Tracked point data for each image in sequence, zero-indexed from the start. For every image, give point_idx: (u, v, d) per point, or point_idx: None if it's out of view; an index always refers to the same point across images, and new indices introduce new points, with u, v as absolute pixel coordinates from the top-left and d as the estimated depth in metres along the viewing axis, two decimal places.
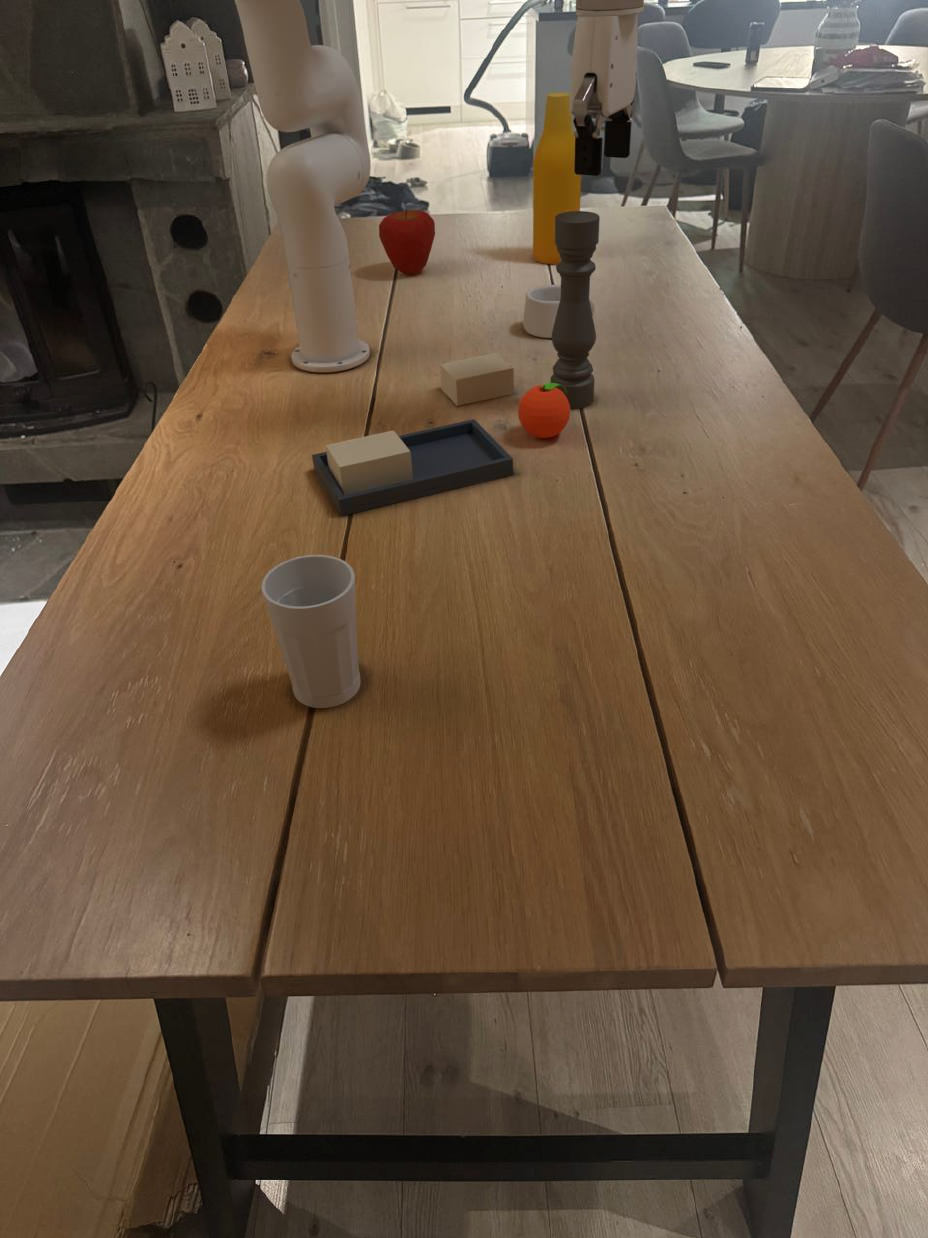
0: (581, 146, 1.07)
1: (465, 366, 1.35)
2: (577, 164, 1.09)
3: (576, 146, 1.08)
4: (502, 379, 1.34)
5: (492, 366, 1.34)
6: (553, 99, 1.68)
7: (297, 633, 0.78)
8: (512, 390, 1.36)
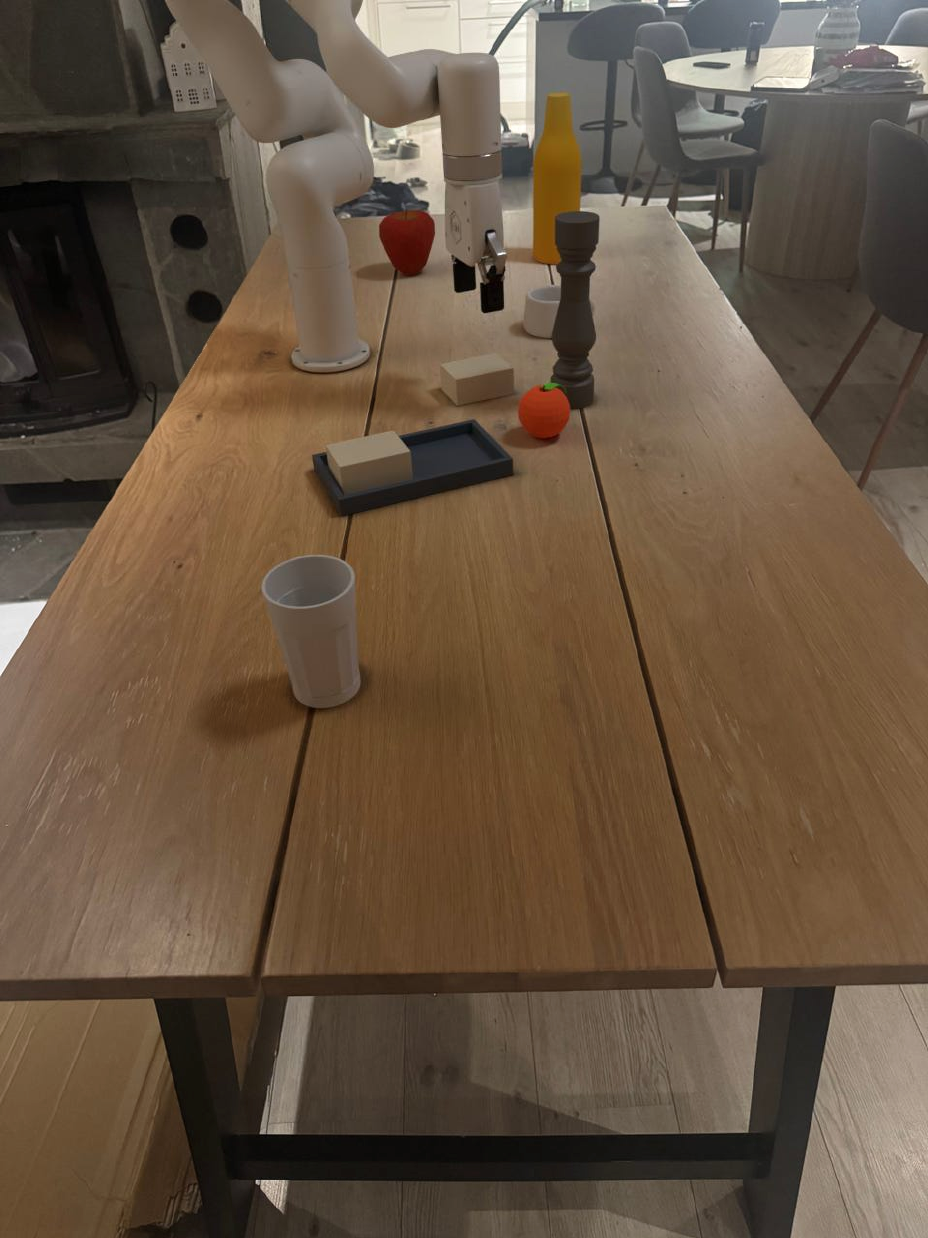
0: (491, 290, 1.22)
1: (465, 366, 1.35)
2: (484, 305, 1.24)
3: (483, 291, 1.23)
4: (502, 379, 1.34)
5: (492, 366, 1.34)
6: (553, 99, 1.68)
7: (297, 633, 0.78)
8: (512, 390, 1.36)
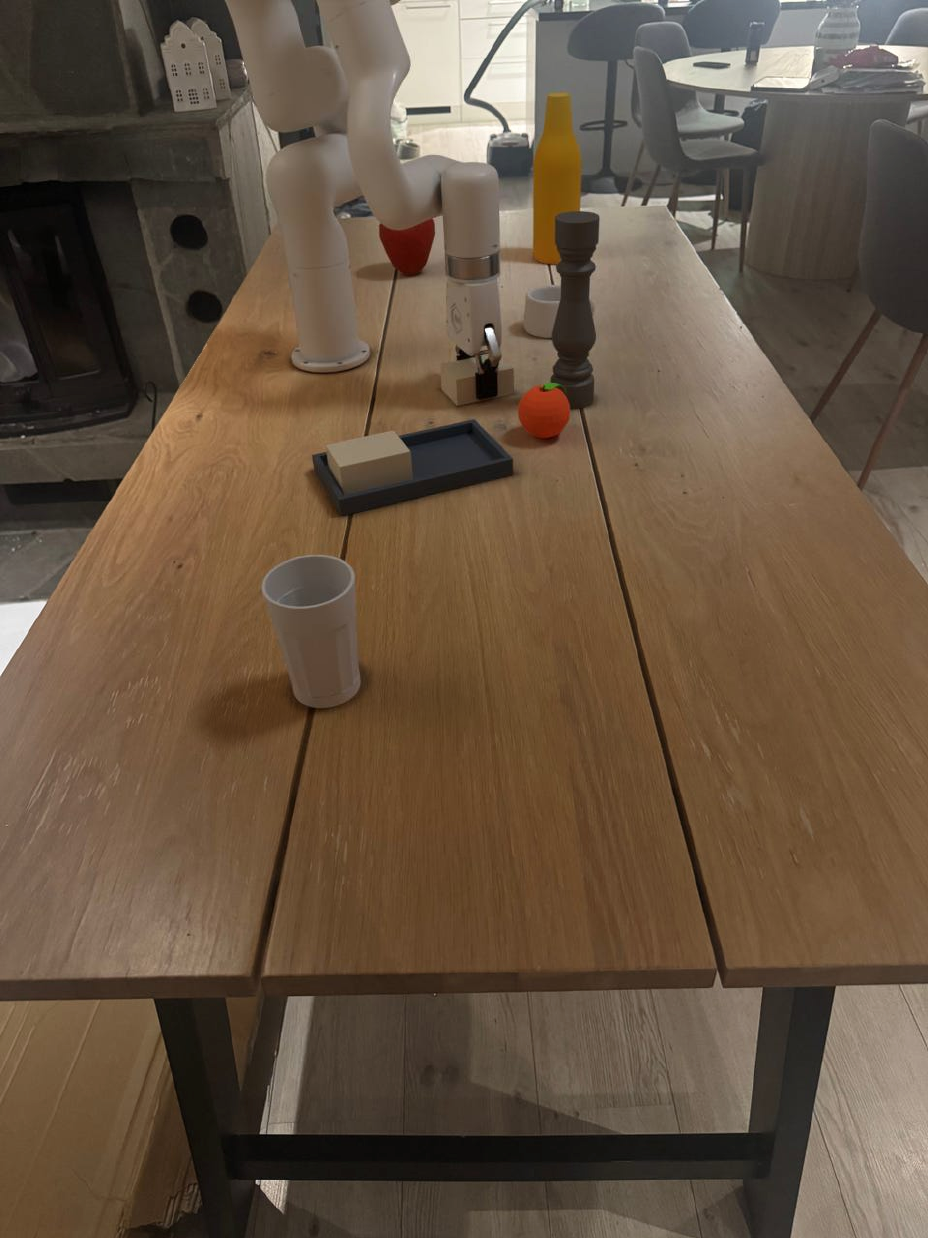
0: (485, 379, 1.31)
1: (465, 366, 1.35)
2: (479, 392, 1.33)
3: (478, 380, 1.32)
4: (502, 379, 1.34)
5: None
6: (553, 99, 1.68)
7: (297, 633, 0.78)
8: (512, 390, 1.36)
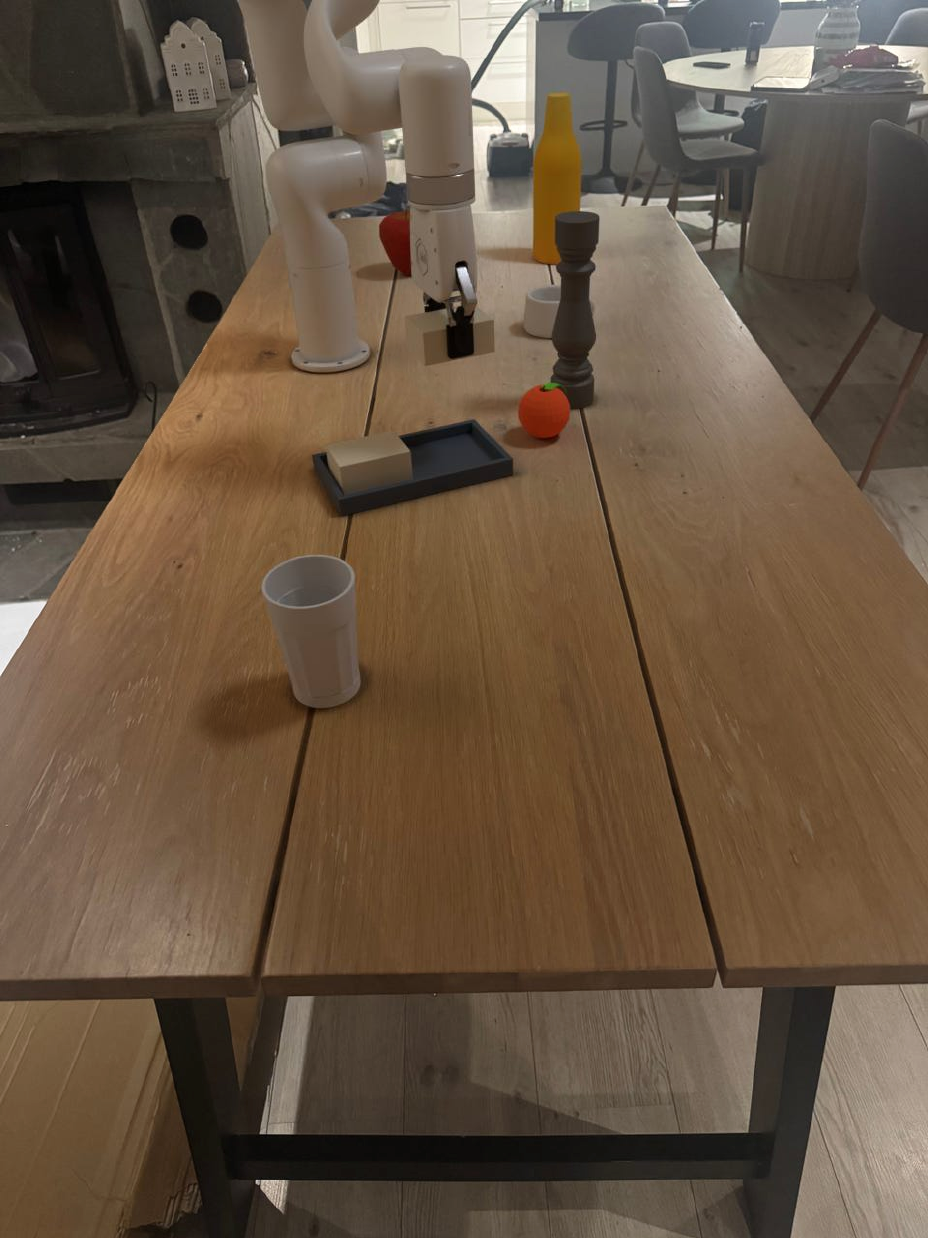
0: (458, 333, 1.07)
1: (435, 318, 1.10)
2: (451, 350, 1.09)
3: (449, 334, 1.07)
4: (480, 333, 1.10)
5: None
6: (553, 99, 1.68)
7: (297, 633, 0.78)
8: (492, 347, 1.11)
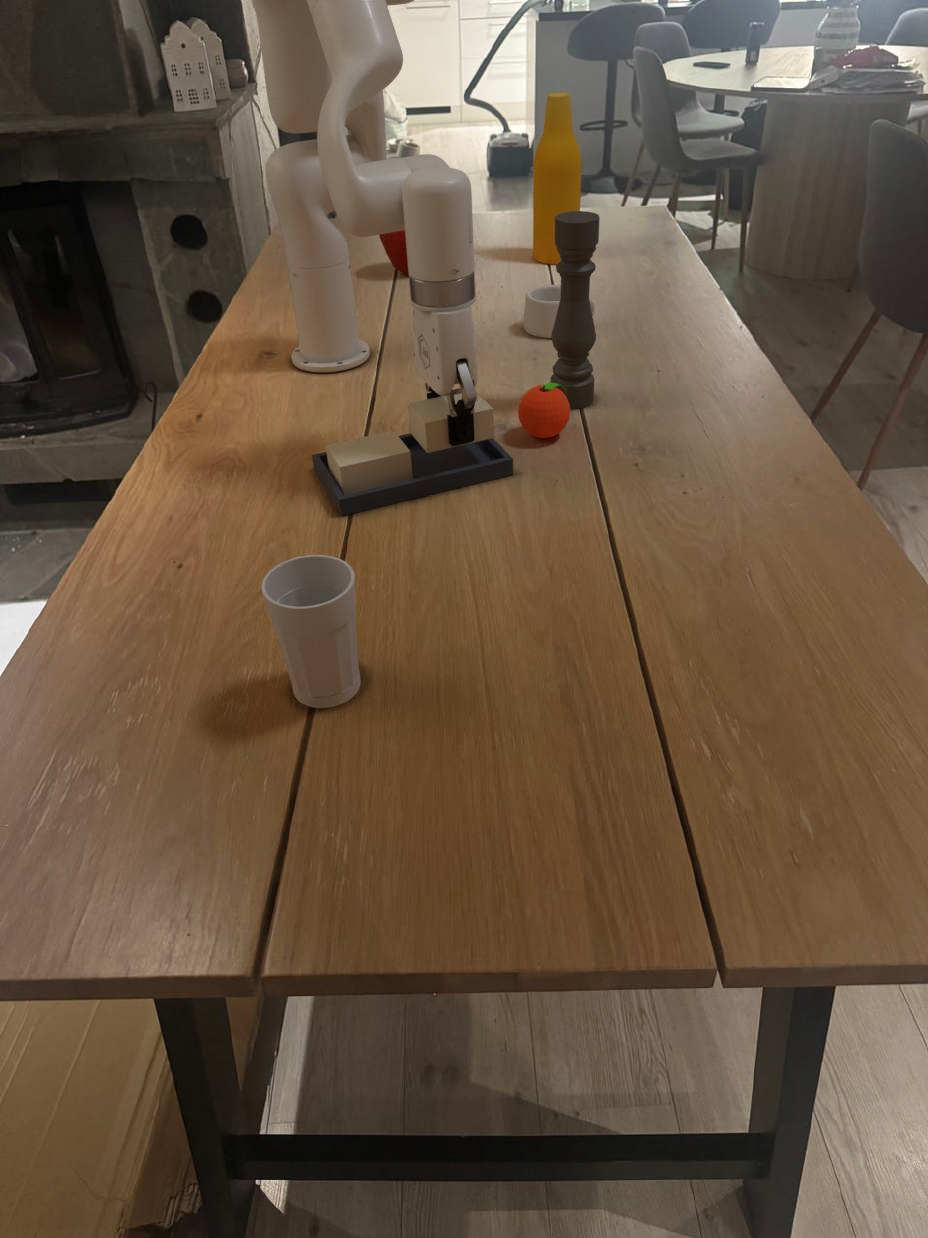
0: (459, 423, 1.11)
1: (437, 406, 1.15)
2: (453, 438, 1.13)
3: (450, 424, 1.12)
4: (480, 421, 1.14)
5: None
6: (553, 99, 1.68)
7: (297, 633, 0.78)
8: (492, 434, 1.16)
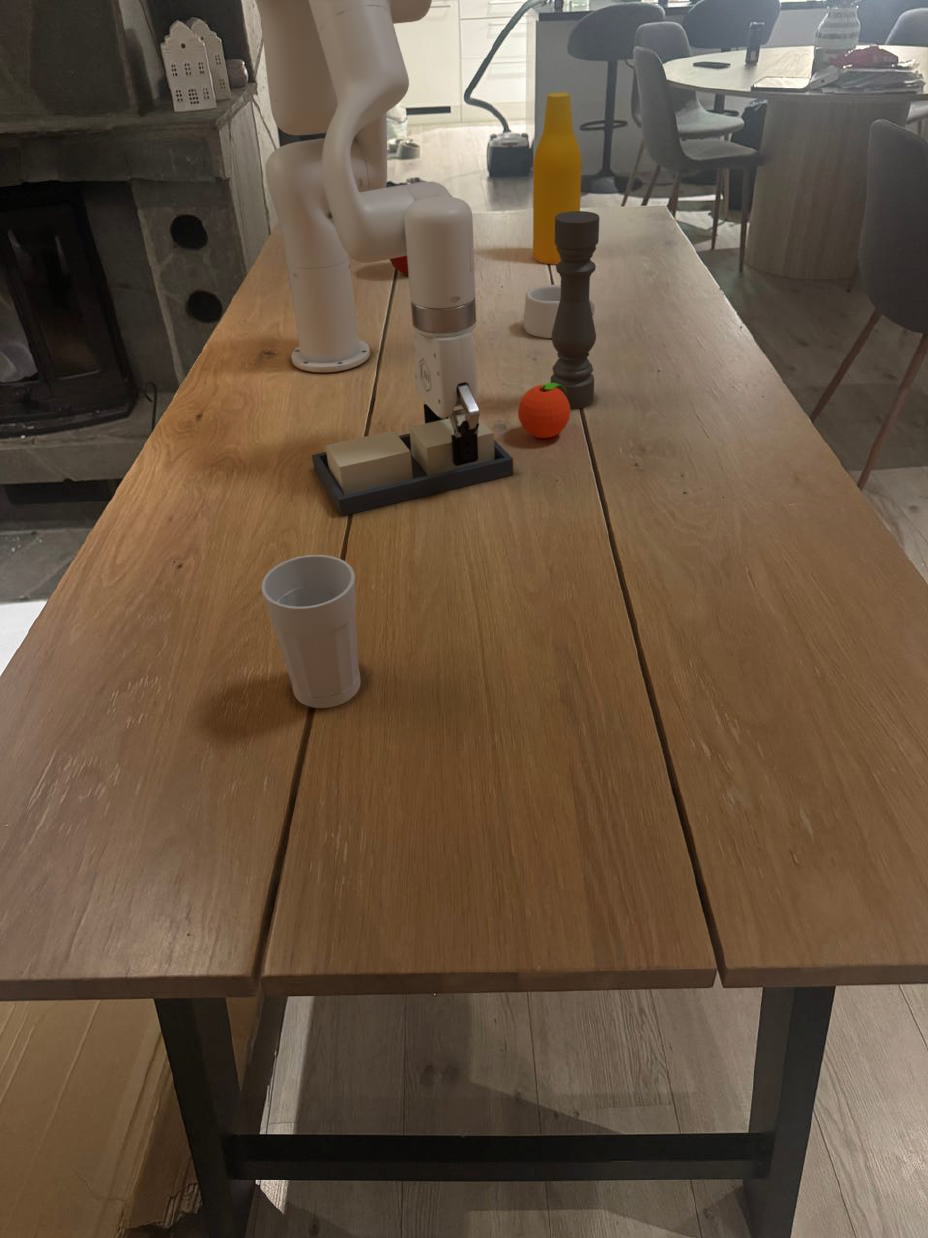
0: (463, 443, 1.12)
1: (438, 430, 1.17)
2: (456, 457, 1.14)
3: (454, 444, 1.12)
4: (481, 445, 1.16)
5: None
6: (553, 99, 1.68)
7: (297, 633, 0.78)
8: (492, 457, 1.18)
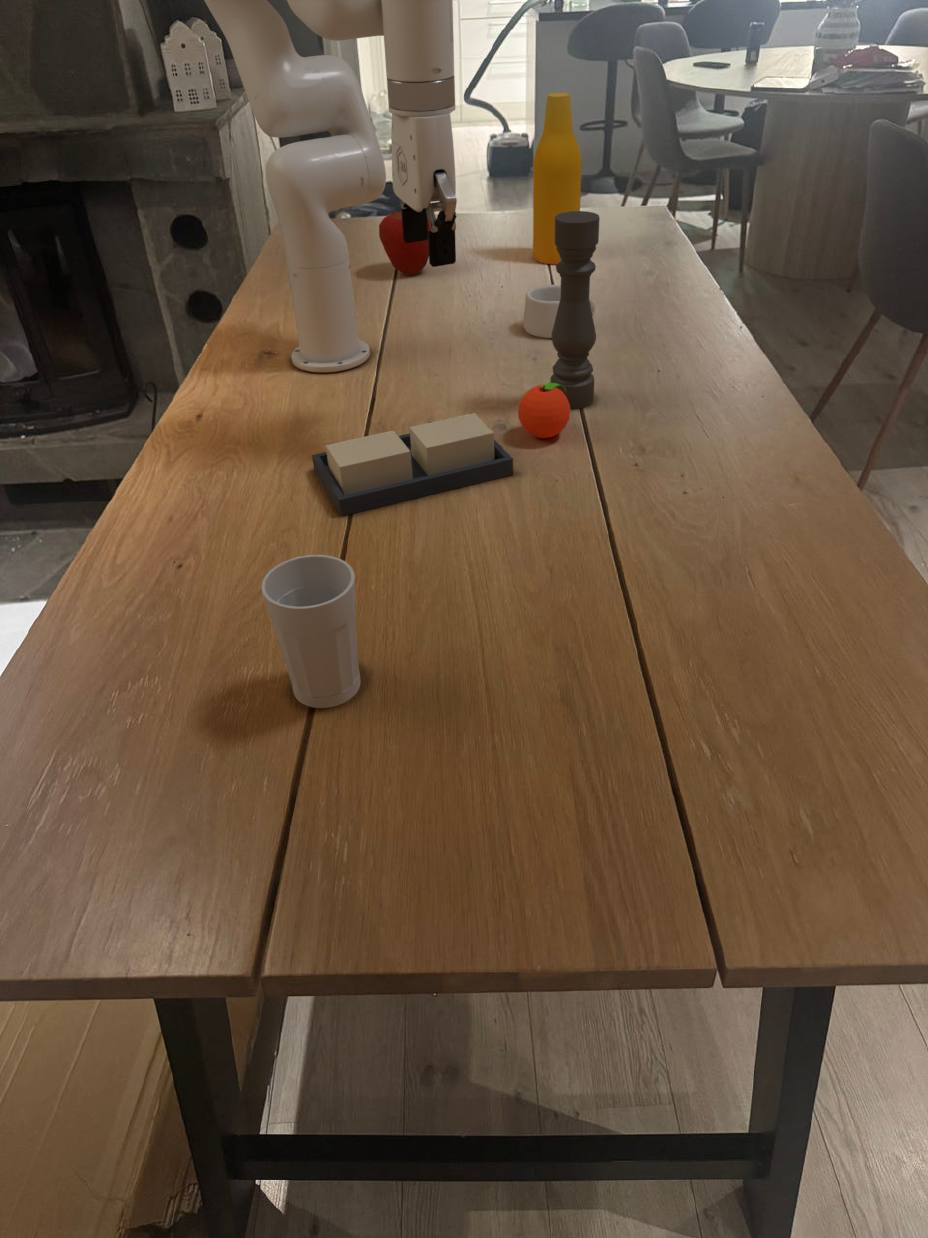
0: (440, 239, 1.08)
1: (438, 430, 1.17)
2: (433, 257, 1.09)
3: (431, 240, 1.08)
4: (481, 445, 1.16)
5: (469, 430, 1.17)
6: (553, 99, 1.68)
7: (297, 633, 0.78)
8: (492, 457, 1.18)
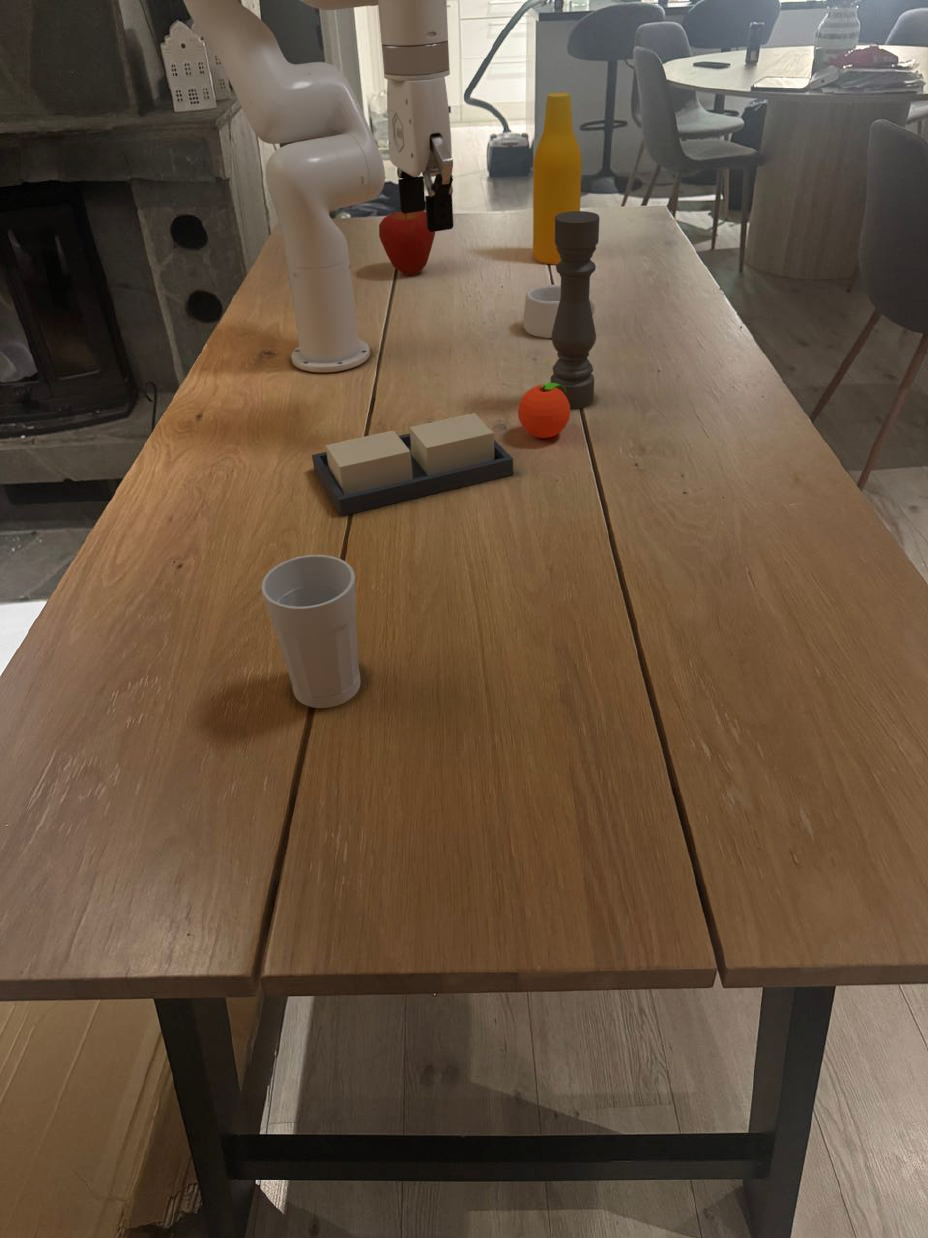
0: (437, 204, 1.09)
1: (438, 430, 1.17)
2: (431, 222, 1.10)
3: (428, 205, 1.09)
4: (481, 445, 1.16)
5: (469, 430, 1.17)
6: (553, 99, 1.68)
7: (297, 633, 0.78)
8: (492, 457, 1.18)
